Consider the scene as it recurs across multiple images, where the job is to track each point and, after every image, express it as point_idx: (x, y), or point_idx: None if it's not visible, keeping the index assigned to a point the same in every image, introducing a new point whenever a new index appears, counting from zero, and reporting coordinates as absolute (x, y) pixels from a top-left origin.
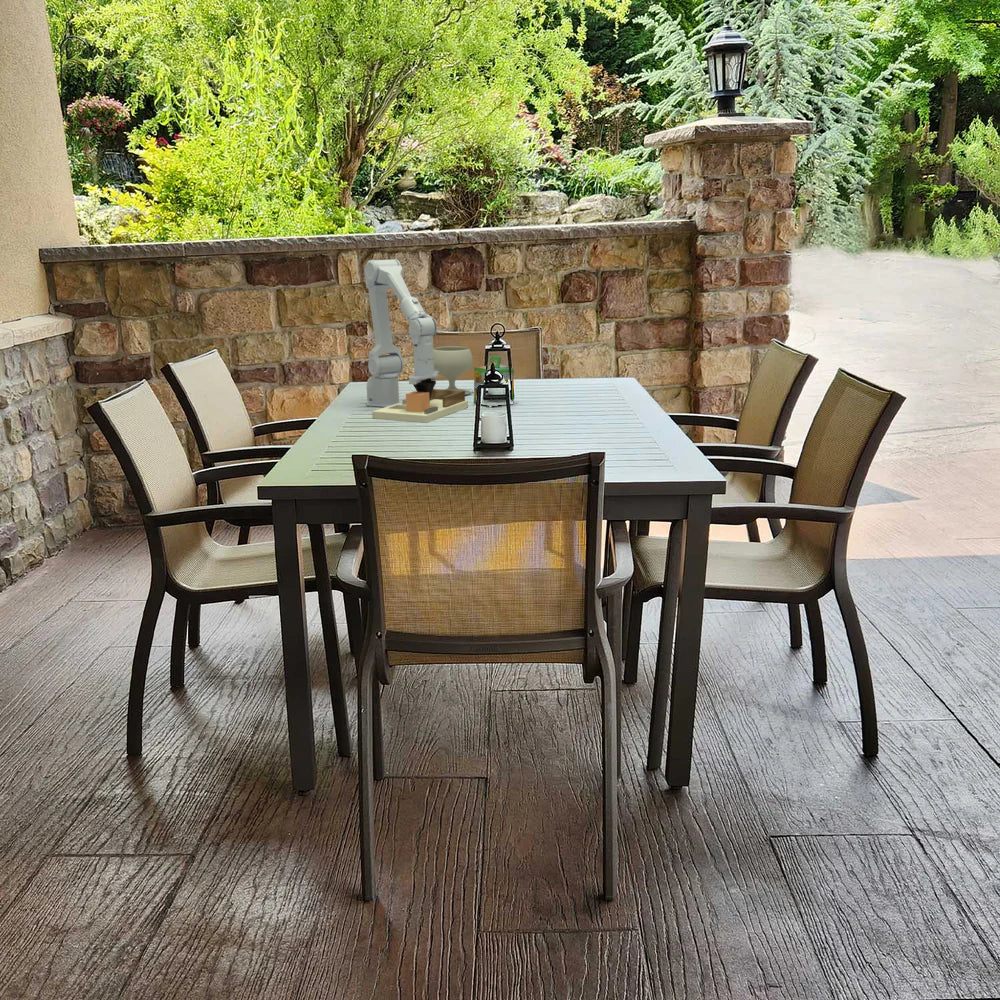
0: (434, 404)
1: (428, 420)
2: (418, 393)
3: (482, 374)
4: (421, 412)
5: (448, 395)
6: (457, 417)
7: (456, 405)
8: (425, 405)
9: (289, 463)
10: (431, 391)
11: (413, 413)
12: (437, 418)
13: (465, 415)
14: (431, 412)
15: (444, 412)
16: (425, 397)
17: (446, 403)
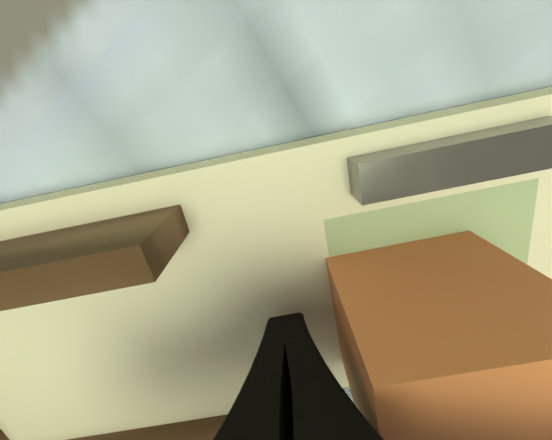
0: (146, 349)
1: (533, 91)
2: (517, 434)
3: None
4: (474, 225)
5: (18, 299)
6: (234, 8)
7: (27, 204)
8: (416, 268)
9: None
10: (244, 424)
11: (537, 248)
12: (371, 125)
13: (117, 7)
14: (477, 131)
15: (254, 153)
16: (461, 323)
17: (150, 219)
